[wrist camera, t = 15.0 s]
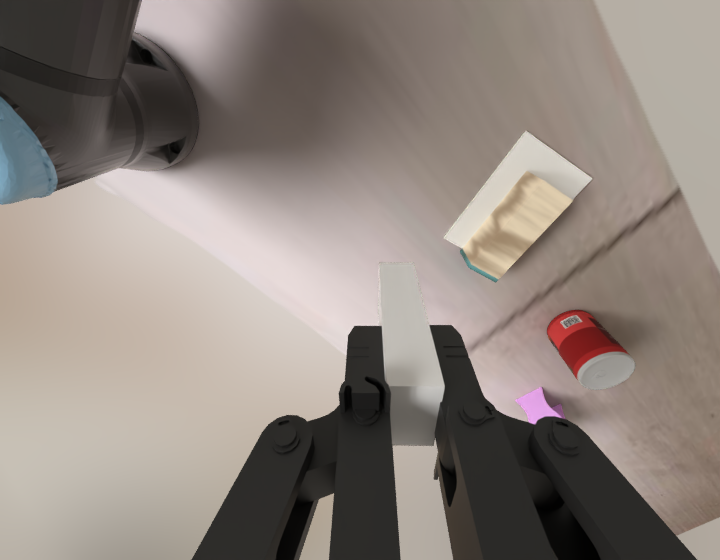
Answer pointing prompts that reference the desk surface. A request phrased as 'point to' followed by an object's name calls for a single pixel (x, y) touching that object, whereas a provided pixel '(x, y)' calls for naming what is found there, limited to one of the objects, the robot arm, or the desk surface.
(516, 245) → the block
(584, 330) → the canned food
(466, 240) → the mat
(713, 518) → the desk surface
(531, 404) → the toy chair
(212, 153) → the desk surface
